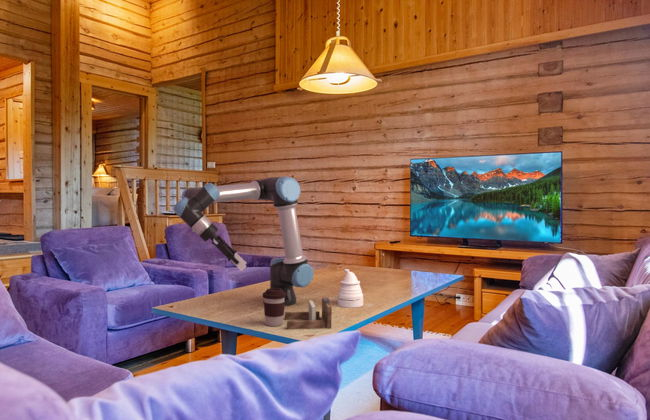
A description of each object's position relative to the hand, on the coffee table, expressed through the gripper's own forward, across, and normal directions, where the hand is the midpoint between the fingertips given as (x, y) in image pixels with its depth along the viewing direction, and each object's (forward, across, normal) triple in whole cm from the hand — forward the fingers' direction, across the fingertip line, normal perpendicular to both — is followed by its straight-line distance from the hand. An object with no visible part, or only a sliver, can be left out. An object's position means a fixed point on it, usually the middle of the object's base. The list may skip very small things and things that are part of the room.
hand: (244, 267), depth 195 cm
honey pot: (+55, -31, +20) cm, 66 cm away
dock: (+37, 0, +2) cm, 37 cm away
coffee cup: (+27, 0, -9) cm, 28 cm away
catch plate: (+38, 0, +3) cm, 38 cm away
